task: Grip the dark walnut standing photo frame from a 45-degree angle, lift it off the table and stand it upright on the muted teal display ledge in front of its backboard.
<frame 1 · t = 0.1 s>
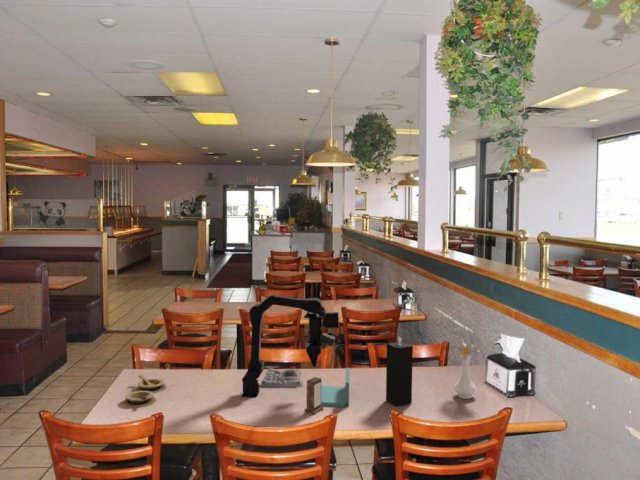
hand: (315, 363, 237), 15 cm above the table, tool pointing down, fingers open, 9 cm apart
display ledge: (330, 397, 237), on the table
black square bottle: (398, 402, 232), on the table
wall plaque: (284, 380, 261), on the table
flower vase: (463, 396, 240), on the table
photo frame: (313, 411, 221), on the table
tableware set: (145, 397, 238), on the table
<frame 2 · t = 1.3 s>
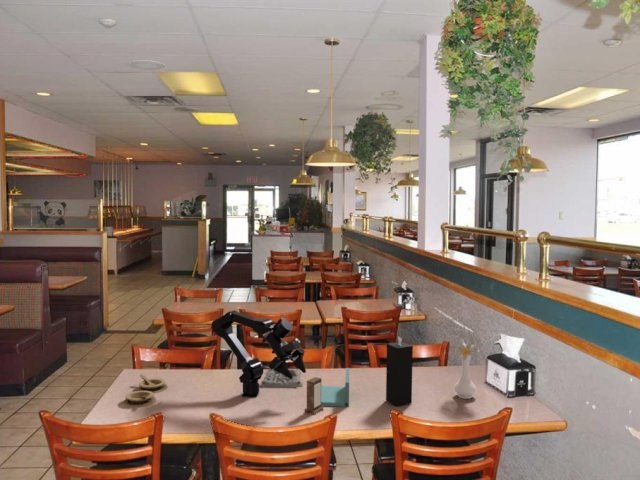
hand: (298, 375, 224), 13 cm above the table, tool tilted 45°, fingers open, 9 cm apart
nothing on the table moved.
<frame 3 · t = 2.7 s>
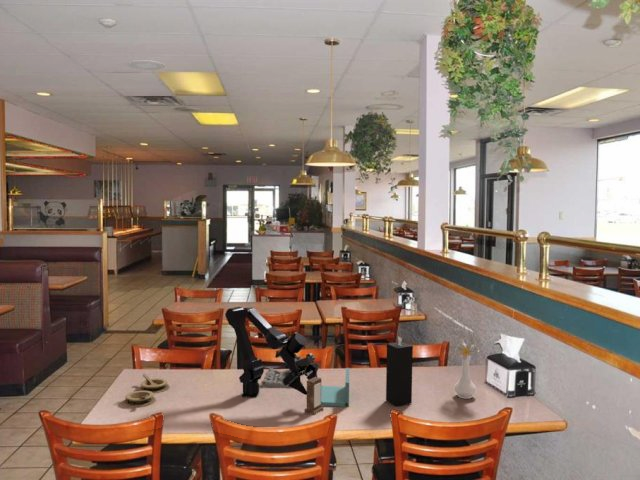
hand: (313, 390, 221), 8 cm above the table, tool tilted 45°, fingers open, 9 cm apart
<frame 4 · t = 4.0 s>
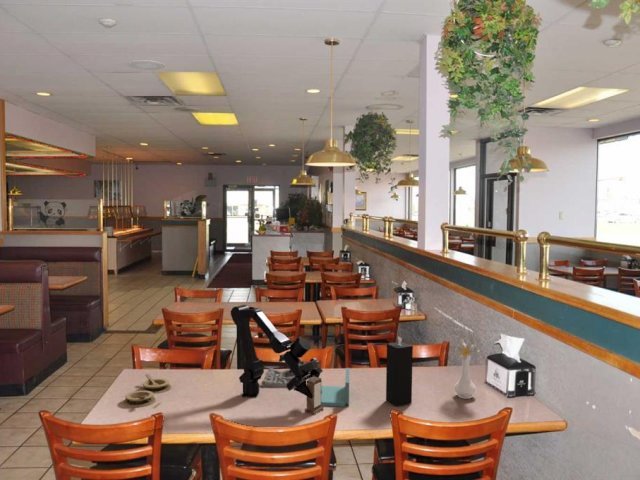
hand: (316, 395, 220), 7 cm above the table, tool tilted 45°, fingers closed on photo frame, 6 cm apart
photo frame: (313, 411, 221), on the table, touching gripper
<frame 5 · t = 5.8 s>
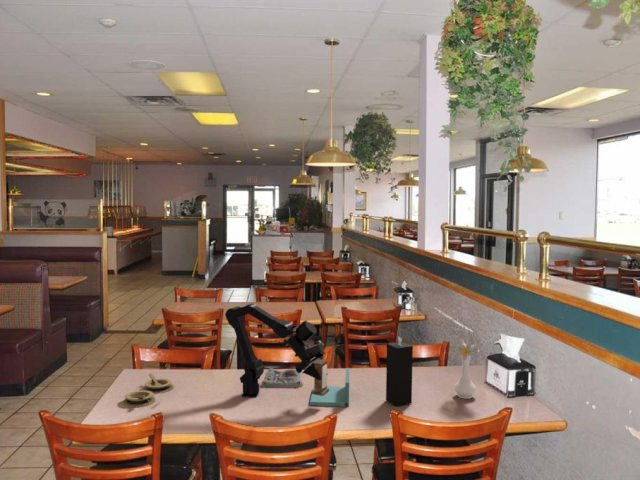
hand: (323, 377, 225), 12 cm above the table, tool tilted 45°, fingers closed on photo frame, 6 cm apart
photo frame: (320, 392, 226), point 6 cm above the table, touching gripper
when the fingers open (9 cm above the table, at t = 7.9 s): photo frame drops 1 cm, resting on display ledge.
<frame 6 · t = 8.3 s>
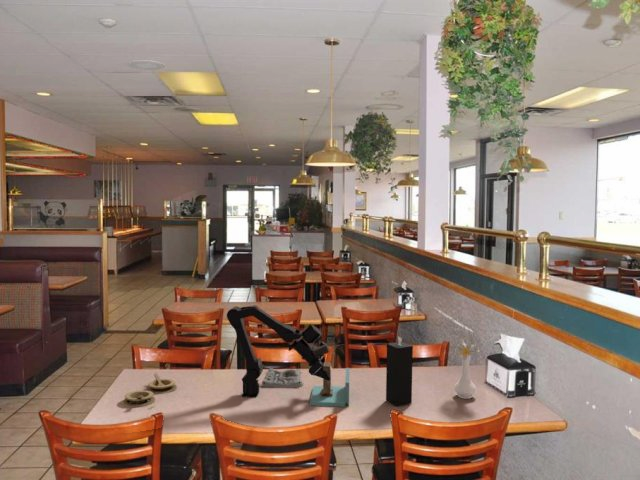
hand: (330, 376, 236), 9 cm above the table, tool tilted 45°, fingers open, 9 cm apart
photo frame: (326, 393, 237), point 1 cm above the table, touching display ledge
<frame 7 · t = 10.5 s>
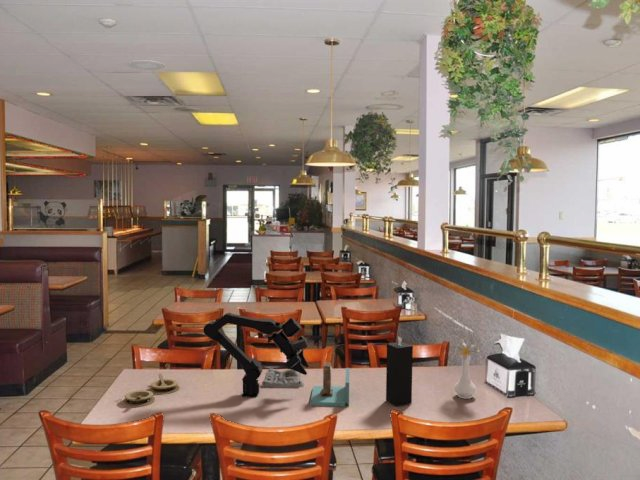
hand: (307, 370, 238), 11 cm above the table, tool tilted 40°, fingers open, 9 cm apart
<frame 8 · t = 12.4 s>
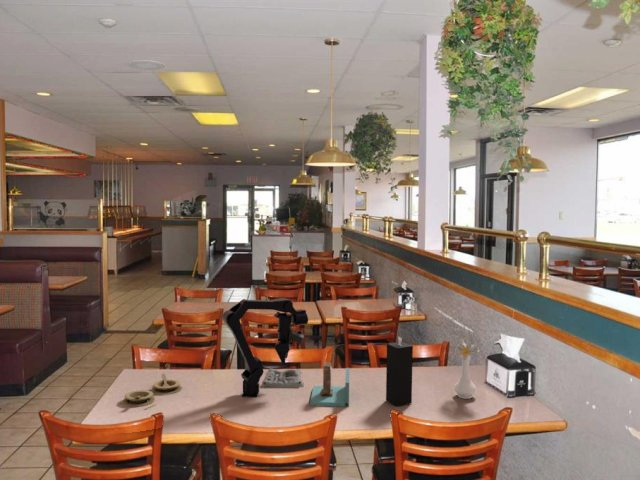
hand: (284, 360, 246), 13 cm above the table, tool pointing down, fingers open, 9 cm apart
at the end: photo frame inside the target area on the display ledge (0.5 cm from its centre), point 1.5 cm above the display ledge's base; photo frame tilted 0°; the gripper is holding nothing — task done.
